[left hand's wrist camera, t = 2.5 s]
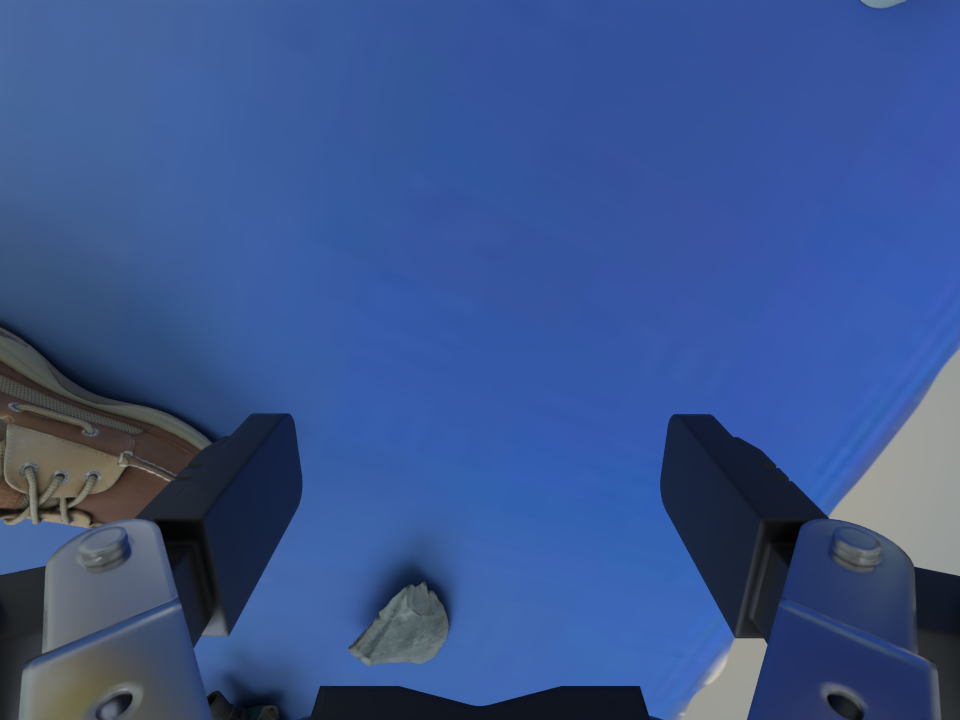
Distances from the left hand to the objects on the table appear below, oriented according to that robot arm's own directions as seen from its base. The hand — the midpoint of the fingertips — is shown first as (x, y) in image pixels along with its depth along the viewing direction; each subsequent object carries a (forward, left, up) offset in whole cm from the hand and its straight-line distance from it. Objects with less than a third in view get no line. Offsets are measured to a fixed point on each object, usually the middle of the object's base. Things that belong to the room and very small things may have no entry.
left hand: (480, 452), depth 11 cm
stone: (+36, -7, -29) cm, 47 cm away
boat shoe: (+15, -32, -29) cm, 46 cm away
